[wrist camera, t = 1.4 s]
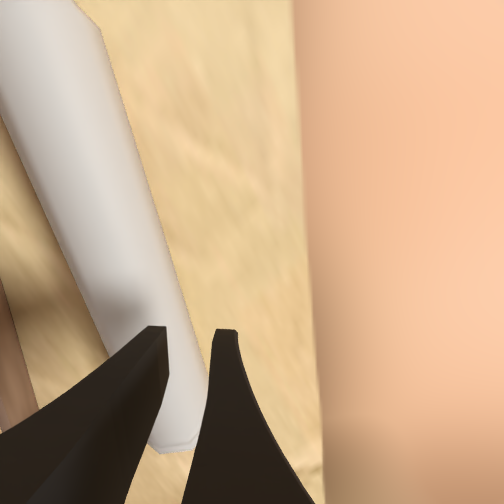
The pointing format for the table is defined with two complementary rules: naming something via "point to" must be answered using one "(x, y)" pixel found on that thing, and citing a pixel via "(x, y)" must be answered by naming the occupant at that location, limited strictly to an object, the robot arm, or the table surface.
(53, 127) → the tube
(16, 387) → the bay
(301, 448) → the table surface
